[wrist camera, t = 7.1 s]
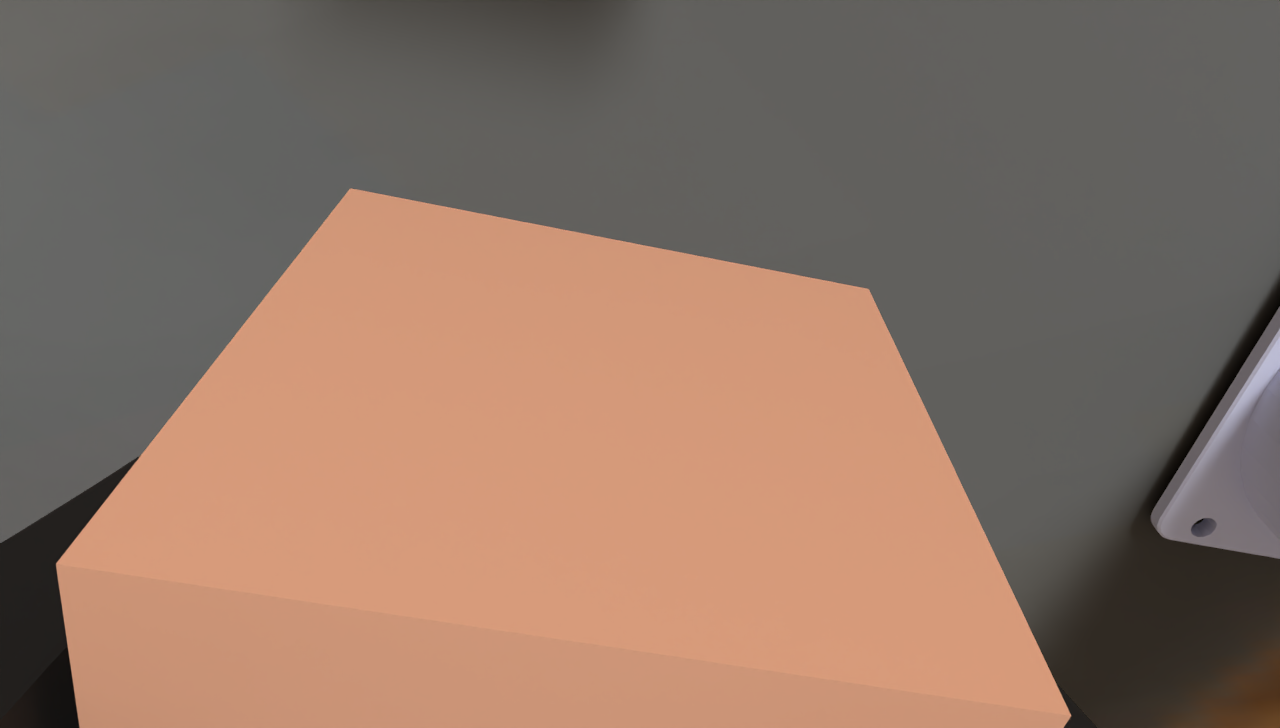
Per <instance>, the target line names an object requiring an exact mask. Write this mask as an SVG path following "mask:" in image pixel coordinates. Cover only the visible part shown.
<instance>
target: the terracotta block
mask: <svg viewBox="0 0 1280 728" xmlns="http://www.w3.org/2000/svg"><path fill="white" fill-rule="evenodd" d="M56 569H57V576H58V583H59V589H60V596H61V603H62V610H63V617H64V624H65V631H66V638H67V644H68V651H69V658H70V665H71V672H72V679H73V686H74V693H75V699H76V706H77V713H78V720H79V727H80V728H1064V726H1065V725H1066V723H1067V722H1068V720H1069V719H1070V717H1071V714H1070V712H1069V710H1068V708H1067V706H1066V703H1065V701H1064V699H1063V697H1062V695H1061V693H1060V691H1059V689H1058V687H1057V685H1056V682H1055V680H1054V678H1053V676H1052V674H1051V672H1050V670H1049V668H1048V666H1047V664H1046V661H1045V659H1044V657H1043V655H1042V653H1041V651H1040V649H1039V647H1038V645H1037V642H1036V640H1035V638H1034V636H1033V634H1032V632H1031V630H1030V628H1029V626H1028V624H1027V621H1026V619H1025V617H1024V615H1023V613H1022V611H1021V609H1020V607H1019V605H1018V602H1017V600H1016V598H1015V596H1014V594H1013V592H1012V590H1011V588H1010V586H1009V584H1008V581H1007V579H1006V577H1005V575H1004V573H1003V571H1002V569H1001V567H1000V565H999V563H998V560H997V558H996V556H995V554H994V552H993V550H992V548H991V546H990V544H989V541H988V539H987V537H986V535H985V533H984V531H983V529H982V527H981V525H980V523H979V520H978V518H977V516H976V514H975V512H974V510H973V508H972V506H971V504H970V501H969V499H968V497H967V495H966V493H965V491H964V489H963V487H962V485H961V483H960V480H959V478H958V476H957V474H956V472H955V470H954V468H953V466H952V464H951V462H950V459H949V457H948V455H947V453H946V451H945V449H944V447H943V445H942V443H941V440H940V438H939V436H938V434H937V432H936V430H935V428H934V426H933V424H932V422H931V419H930V417H929V415H928V413H927V411H926V409H925V407H924V405H923V403H922V400H921V398H920V396H919V394H918V392H917V390H916V388H915V386H914V384H913V382H912V379H911V377H910V375H909V373H908V371H907V369H906V367H905V365H904V363H903V361H902V358H901V356H900V354H899V352H898V350H897V348H896V346H895V344H894V342H893V339H892V337H891V335H890V333H889V331H888V329H887V327H886V325H885V323H884V321H883V318H882V316H881V314H880V312H879V310H878V308H877V306H876V304H875V302H874V299H873V297H872V295H871V293H870V291H869V289H866V288H860V287H855V286H850V285H845V284H840V283H835V282H830V281H824V280H819V279H814V278H809V277H804V276H799V275H794V274H788V273H783V272H778V271H773V270H768V269H763V268H758V267H752V266H747V265H742V264H737V263H732V262H727V261H722V260H716V259H711V258H706V257H701V256H696V255H691V254H685V253H680V252H675V251H670V250H665V249H660V248H655V247H649V246H644V245H639V244H634V243H629V242H624V241H619V240H613V239H608V238H603V237H598V236H593V235H588V234H583V233H577V232H572V231H567V230H562V229H557V228H552V227H547V226H541V225H536V224H531V223H526V222H521V221H516V220H511V219H505V218H500V217H495V216H490V215H485V214H480V213H475V212H469V211H464V210H459V209H454V208H449V207H444V206H439V205H433V204H428V203H423V202H418V201H413V200H408V199H403V198H397V197H392V196H387V195H382V194H377V193H372V192H367V191H361V190H356V189H351V188H350V190H349V191H348V192H347V193H346V195H345V196H344V197H343V199H342V200H341V201H340V202H339V204H338V205H337V206H336V207H335V209H334V210H333V211H332V213H331V214H330V215H329V216H328V218H327V219H326V220H325V221H324V223H323V224H322V225H321V227H320V228H319V229H318V230H317V232H316V233H315V234H314V236H313V237H312V238H311V239H310V241H309V242H308V243H307V244H306V246H305V247H304V248H303V250H302V251H301V252H300V253H299V255H298V256H297V257H296V258H295V260H294V261H293V262H292V264H291V265H290V266H289V267H288V269H287V270H286V271H285V272H284V274H283V275H282V276H281V278H280V279H279V280H278V281H277V283H276V284H275V285H274V287H273V288H272V289H271V290H270V292H269V293H268V294H267V295H266V297H265V298H264V299H263V301H262V302H261V303H260V304H259V306H258V307H257V308H256V309H255V311H254V312H253V313H252V315H251V316H250V317H249V318H248V320H247V321H246V322H245V323H244V325H243V326H242V327H241V329H240V330H239V331H238V332H237V334H236V335H235V336H234V338H233V339H232V340H231V341H230V343H229V344H228V345H227V346H226V348H225V349H224V350H223V352H222V353H221V354H220V355H219V357H218V358H217V359H216V360H215V362H214V363H213V364H212V366H211V367H210V368H209V369H208V371H207V372H206V373H205V374H204V376H203V377H202V378H201V380H200V381H199V382H198V383H197V385H196V386H195V387H194V389H193V390H192V391H191V392H190V394H189V395H188V396H187V397H186V399H185V400H184V401H183V403H182V404H181V405H180V406H179V408H178V409H177V410H176V411H175V413H174V414H173V415H172V417H171V418H170V419H169V420H168V422H167V423H166V424H165V425H164V427H163V428H162V429H161V431H160V432H159V433H158V434H157V436H156V437H155V438H154V440H153V441H152V442H151V443H150V445H149V446H148V447H147V448H146V450H145V451H144V452H143V454H142V455H141V456H140V457H139V459H138V460H137V461H136V462H135V464H134V465H133V466H132V468H131V469H130V470H129V471H128V473H127V474H126V475H125V476H124V478H123V479H122V480H121V482H120V483H119V484H118V485H117V487H116V488H115V489H114V491H113V492H112V493H111V494H110V496H109V497H108V498H107V499H106V501H105V502H104V503H103V505H102V506H101V507H100V508H99V510H98V511H97V512H96V513H95V515H94V516H93V517H92V519H91V520H90V521H89V522H88V524H87V525H86V526H85V527H84V529H83V530H82V531H81V533H80V534H79V535H78V536H77V538H76V539H75V540H74V542H73V543H72V544H71V545H70V547H69V548H68V549H67V550H66V552H65V553H64V554H63V556H62V557H61V558H60V559H59V561H58V562H57V563H56Z"/></svg>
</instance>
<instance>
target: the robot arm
mask: <svg viewBox="0 0 1280 728" xmlns="http://www.w3.org/2000/svg"><path fill="white" fill-rule="evenodd" d="M140 456H141V455H140ZM140 456H139V457H140ZM139 457H137V458H136V459H134V460H133V461H131V462H129V463H128V464H126V465H125V466H123V467H122V468H120V469H119V470H117V471H116V472H114V473H113V474H111V475H109V476H108V477H106V478H105V479H103V480H102V481H100V482H99V483H97V484H96V485H94V486H92V487H91V488H89V489H88V490H86V491H84V492H83V493H81V494H80V495H78V496H76V497H75V498H73V499H71V500H70V501H68V502H67V503H65V504H63V505H62V506H60V507H59V508H57V509H55V510H54V511H52V512H51V513H49V514H47V515H46V516H44V517H43V518H41V519H39V520H38V521H36V522H35V523H33V524H31V525H30V526H28V527H27V528H25V529H23V530H22V531H20V532H19V533H17V534H15V535H14V536H12V537H10V538H9V539H7V540H5V541H4V542H2V543H0V728H80V727H79V720H78V713H77V706H76V699H75V693H74V686H73V679H72V672H71V665H70V658H69V651H68V644H67V638H66V631H65V624H64V617H63V610H62V603H61V596H60V589H59V583H58V576H57V569H56V563H57V562H58V561H59V559H60V558H61V557H62V556H63V554H64V553H65V552H66V550H67V549H68V548H69V547H70V545H71V544H72V543H73V542H74V540H75V539H76V538H77V536H78V535H79V534H80V533H81V531H82V530H83V529H84V527H85V526H86V525H87V524H88V522H89V521H90V520H91V519H92V517H93V516H94V515H95V513H96V512H97V511H98V510H99V508H100V507H101V506H102V505H103V503H104V502H105V501H106V499H107V498H108V497H109V496H110V494H111V493H112V492H113V491H114V489H115V488H116V487H117V485H118V484H119V483H120V482H121V480H122V479H123V478H124V476H125V475H126V474H127V473H128V471H129V470H130V469H131V468H132V466H133V465H134V464H135V462H136V461H137V460H138V459H139ZM1203 518H1205V519H1204V520H1203V521H1202V522H1200V523H1198V524H1195V525H1193V524H1194V523H1195V522H1197V521H1198V520H1201V519H1203ZM1151 522H1152V524H1153V526H1154V527H1155V529H1156V530H1157V531H1158V533H1159V534H1160V535H1161V536H1162V537H1164V538H1166V539H1169V540H1174V541H1180V542H1185V543H1191V544H1197V545H1203V546H1208V547H1214V548H1220V549H1226V550H1232V551H1237V552H1243V553H1249V554H1255V555H1260V556H1266V557H1272V558H1278V559H1280V307H1279V308H1278V310H1277V312H1276V313H1275V315H1274V316H1273V318H1272V320H1271V321H1270V323H1269V325H1268V326H1267V328H1266V329H1265V331H1264V333H1263V334H1262V336H1261V337H1260V339H1259V341H1258V342H1257V344H1256V345H1255V347H1254V349H1253V350H1252V352H1251V353H1250V355H1249V357H1248V358H1247V360H1246V361H1245V363H1244V365H1243V366H1242V368H1241V369H1240V371H1239V373H1238V374H1237V376H1236V377H1235V379H1234V381H1233V382H1232V384H1231V385H1230V387H1229V389H1228V390H1227V392H1226V393H1225V395H1224V397H1223V398H1222V400H1221V402H1220V403H1219V405H1218V406H1217V408H1216V410H1215V411H1214V413H1213V414H1212V416H1211V418H1210V419H1209V421H1208V422H1207V424H1206V426H1205V427H1204V429H1203V430H1202V432H1201V434H1200V435H1199V437H1198V438H1197V440H1196V442H1195V443H1194V445H1193V446H1192V448H1191V450H1190V451H1189V453H1188V454H1187V456H1186V458H1185V459H1184V461H1183V462H1182V464H1181V466H1180V467H1179V469H1178V470H1177V472H1176V474H1175V475H1174V477H1173V479H1172V480H1171V482H1170V483H1169V485H1168V487H1167V488H1166V490H1165V491H1164V493H1163V495H1162V496H1161V498H1160V499H1159V501H1158V503H1157V504H1156V506H1155V507H1154V509H1153V511H1152V514H1151ZM1056 685H1057V687H1058V689H1059V691H1060V693H1061V695H1062V697H1063V699H1064V701H1065V703H1066V706H1067V708H1068V710H1069V712H1070V714H1071V717H1070V719H1069V720H1068V722H1067V723H1066V725H1065V726H1064V728H1097V727H1096V726H1095V725H1094V724H1093V723H1092V721H1091V720H1090V719H1089V718H1088V717H1087V716H1086V715H1085V714H1084V713H1083V712H1082V711H1081V710H1080V709H1079V707H1078V706H1077V705H1076V704H1075V703H1074V702H1073V701H1072V700H1071V699H1070V698H1069V696H1068V695H1067V694H1066V693H1065V692H1064V691H1063V690H1062V689H1061V688H1060V686H1059V685H1058V684H1057V683H1056Z"/></svg>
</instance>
